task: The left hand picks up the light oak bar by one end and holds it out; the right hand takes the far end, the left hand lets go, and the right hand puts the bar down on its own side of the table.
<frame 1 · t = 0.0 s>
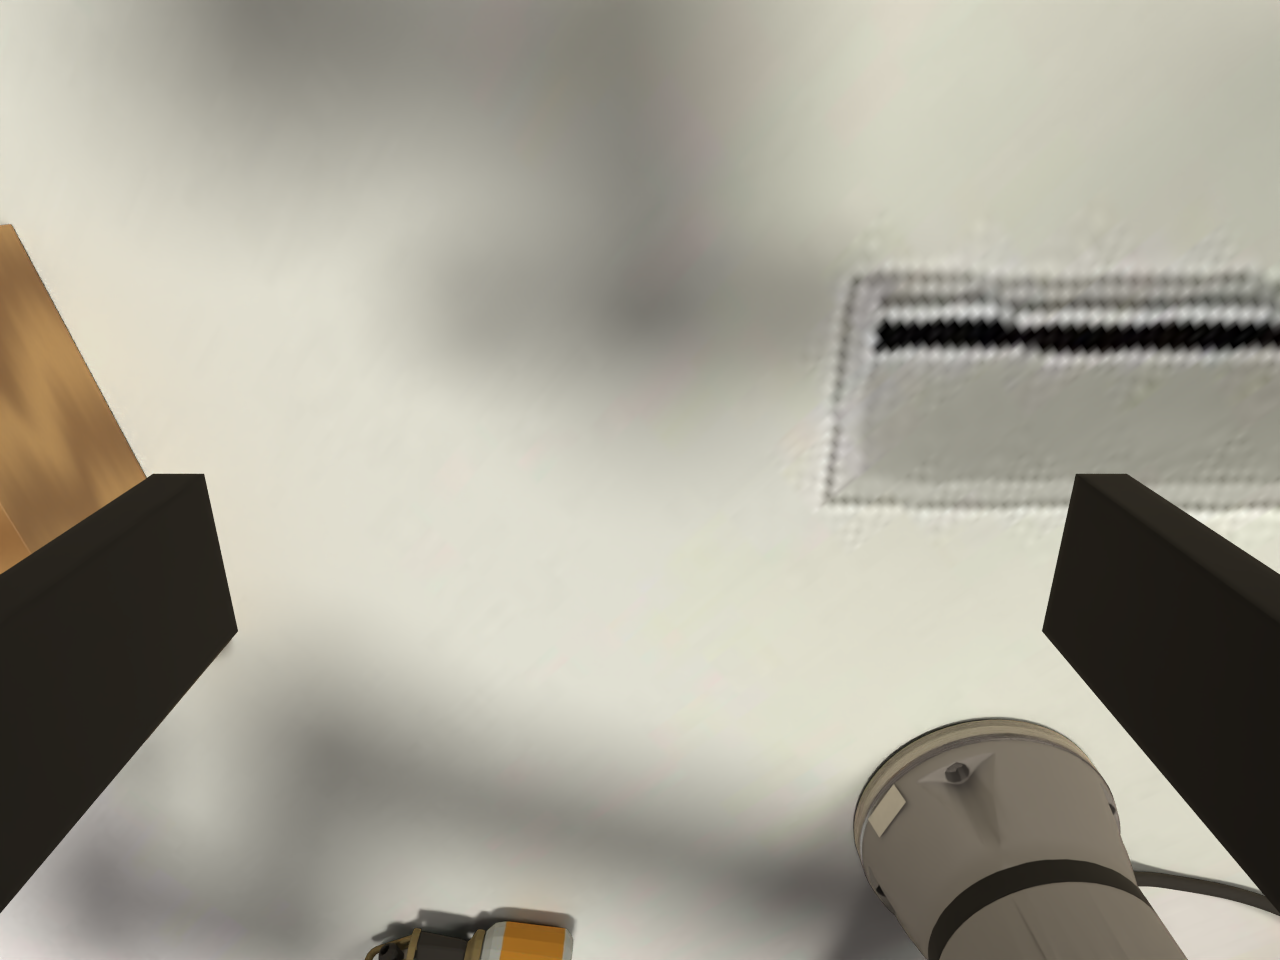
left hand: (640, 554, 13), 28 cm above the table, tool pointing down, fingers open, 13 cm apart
bar: (84, 465, 42), on the table
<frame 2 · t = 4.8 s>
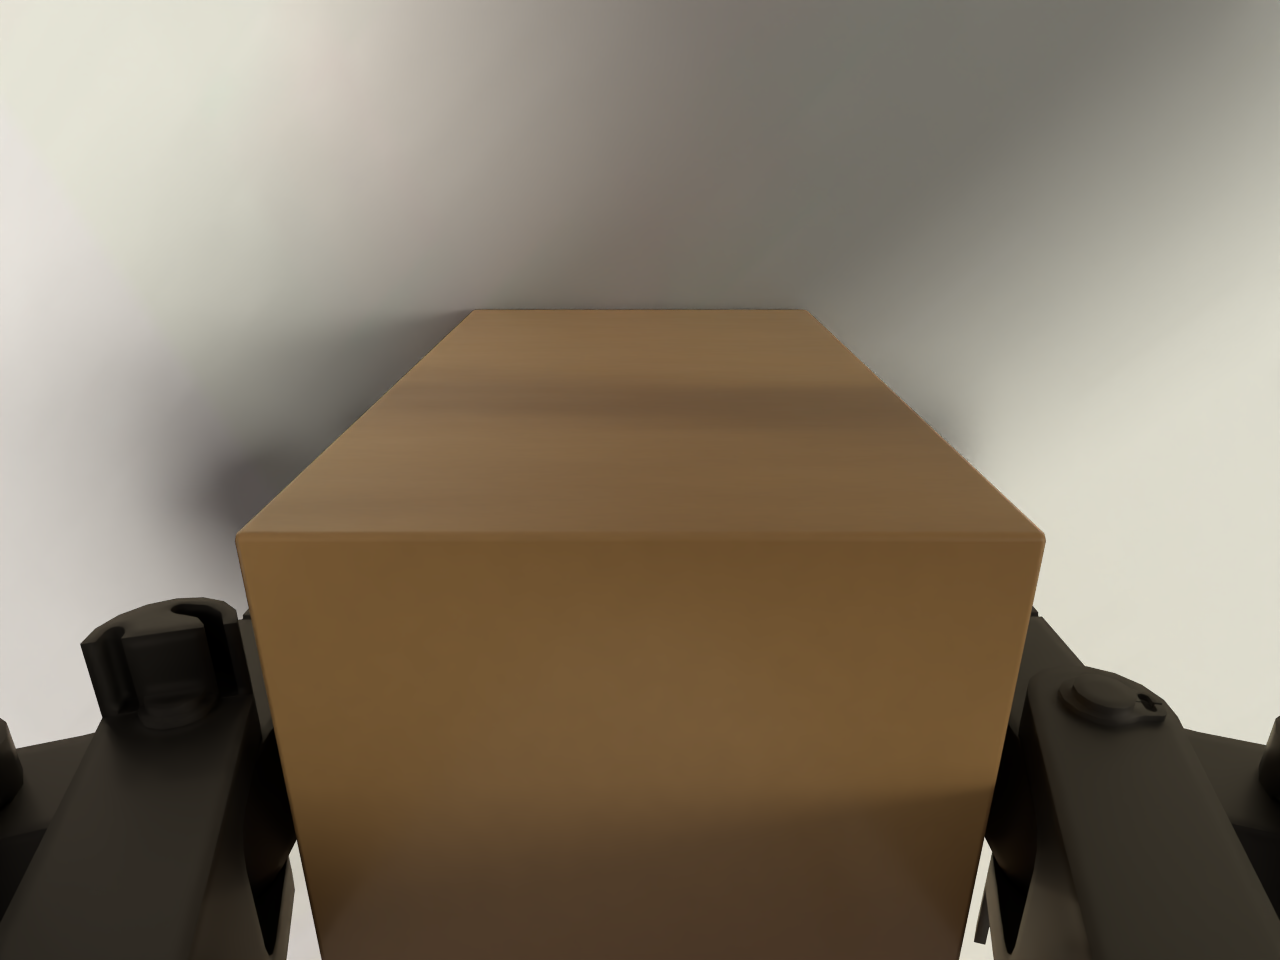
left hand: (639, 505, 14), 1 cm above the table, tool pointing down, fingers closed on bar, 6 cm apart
bar: (640, 839, 18), on the table, touching left hand
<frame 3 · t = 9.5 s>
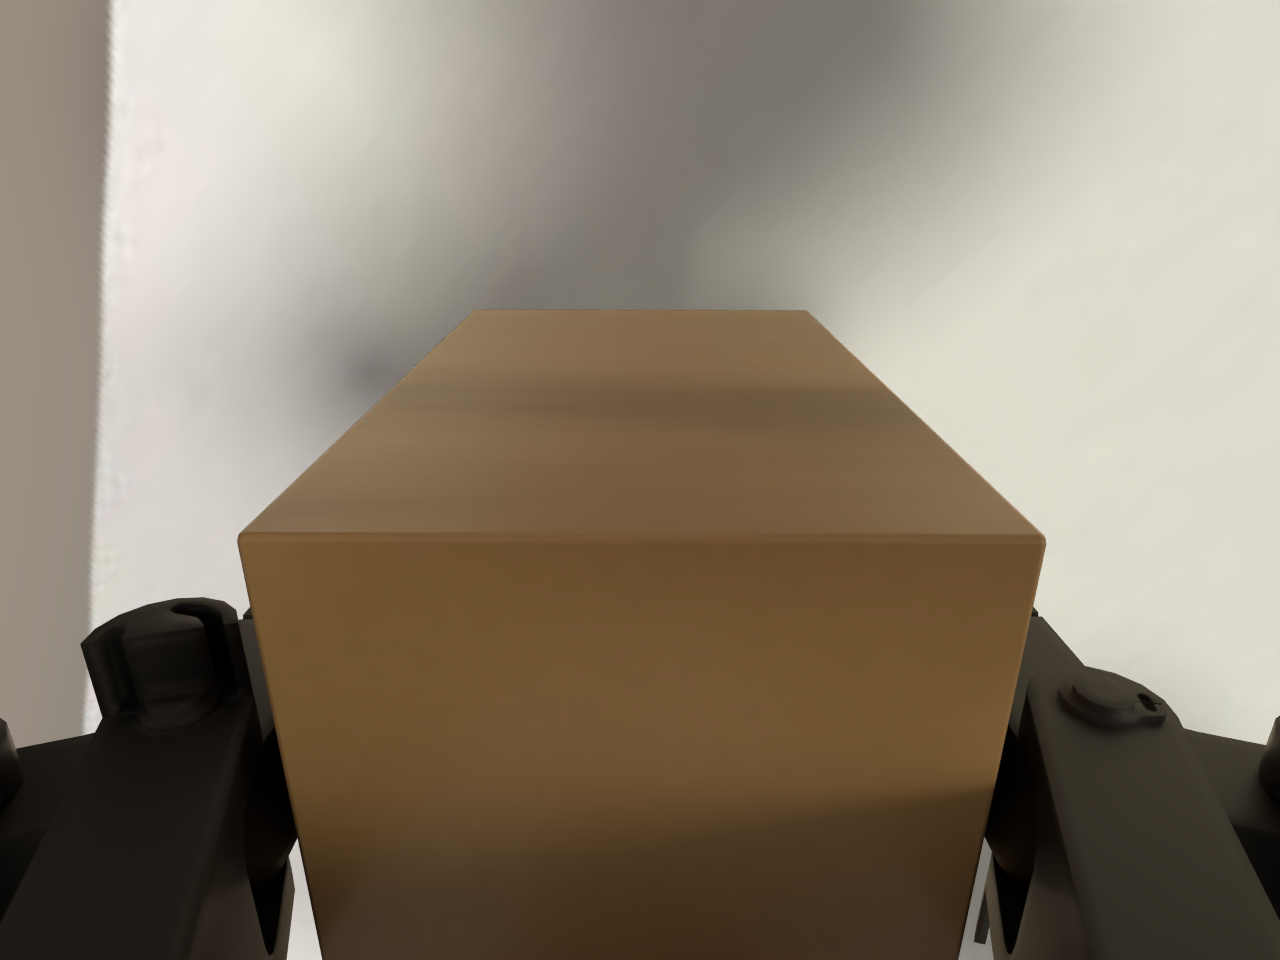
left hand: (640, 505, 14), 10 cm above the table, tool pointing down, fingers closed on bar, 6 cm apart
bar: (639, 839, 18), point 10 cm above the table, touching left hand, right hand
when the left hand's fingers open (10 cm above the table, at t = 10.1 s): bar stays where it is, held by the right hand.
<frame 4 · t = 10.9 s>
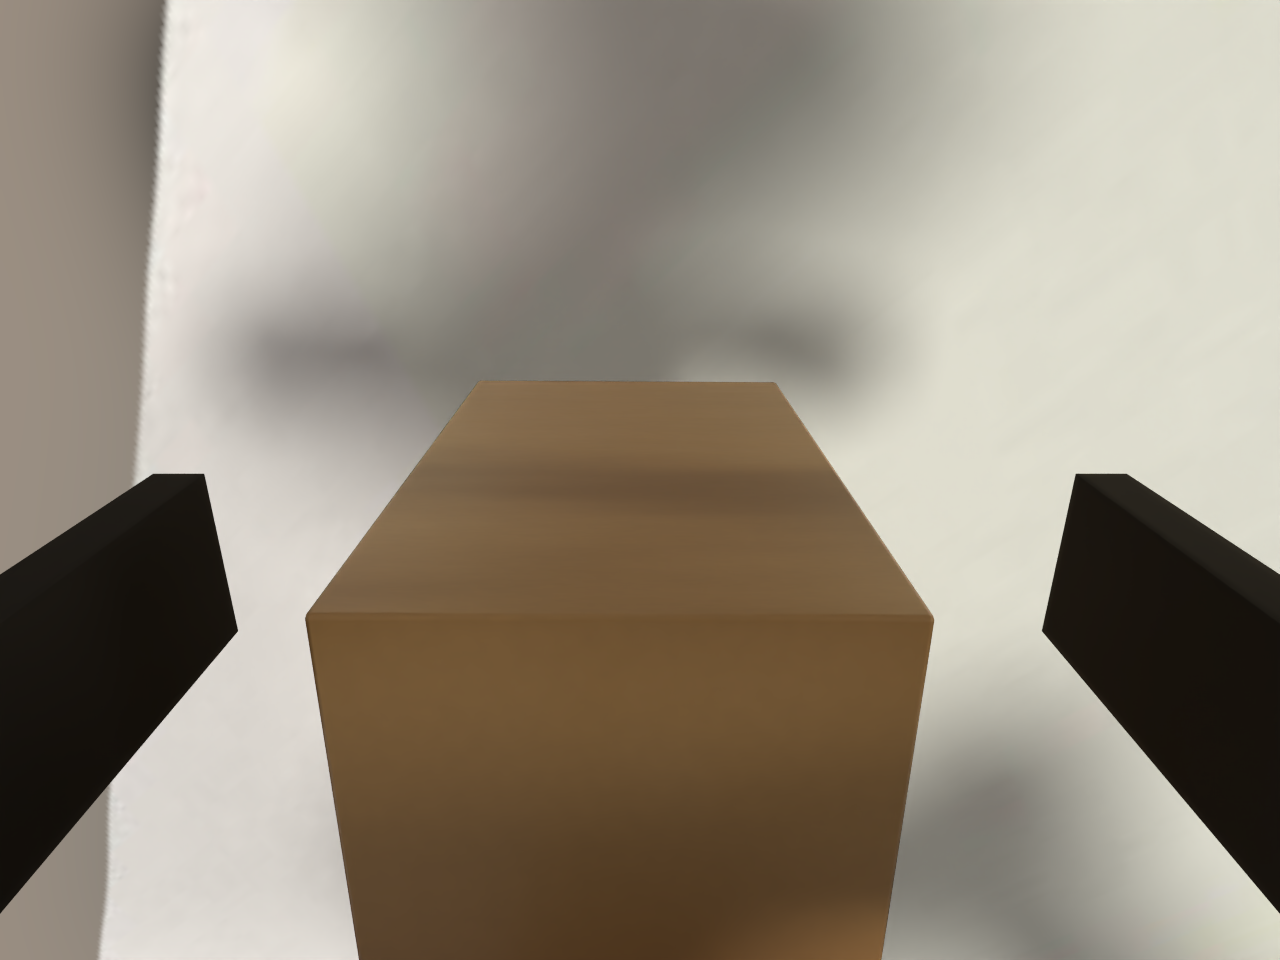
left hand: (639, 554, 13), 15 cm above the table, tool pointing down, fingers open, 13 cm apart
bar: (626, 857, 19), point 11 cm above the table, touching right hand
when the right hand's fingers open (2 cm above the table, at t = 18.6 s): bar drops 1 cm, on the table.
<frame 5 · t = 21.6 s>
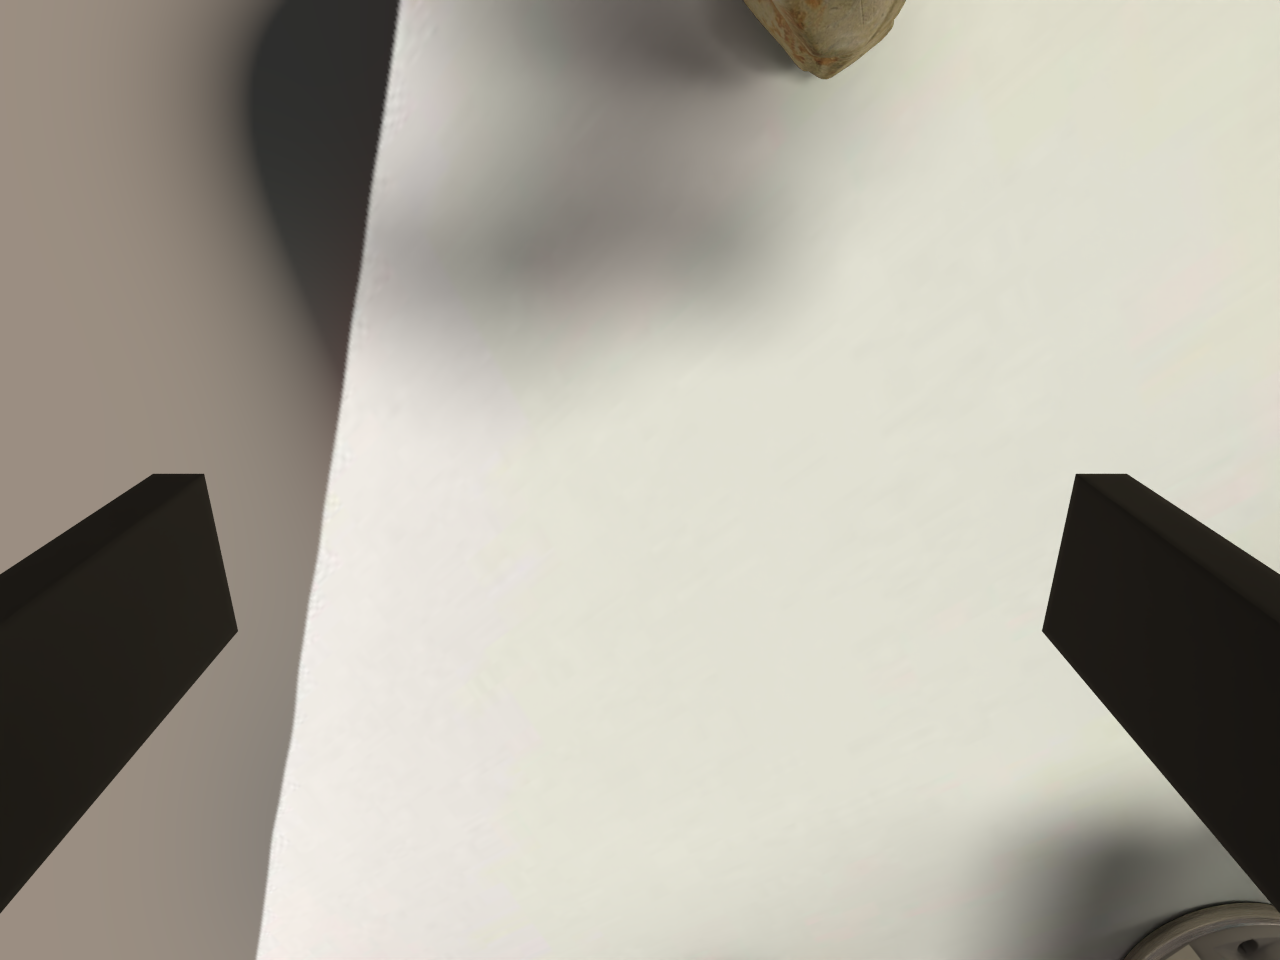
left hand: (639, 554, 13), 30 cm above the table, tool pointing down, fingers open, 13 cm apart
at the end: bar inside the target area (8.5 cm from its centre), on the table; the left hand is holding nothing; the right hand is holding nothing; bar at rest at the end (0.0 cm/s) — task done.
